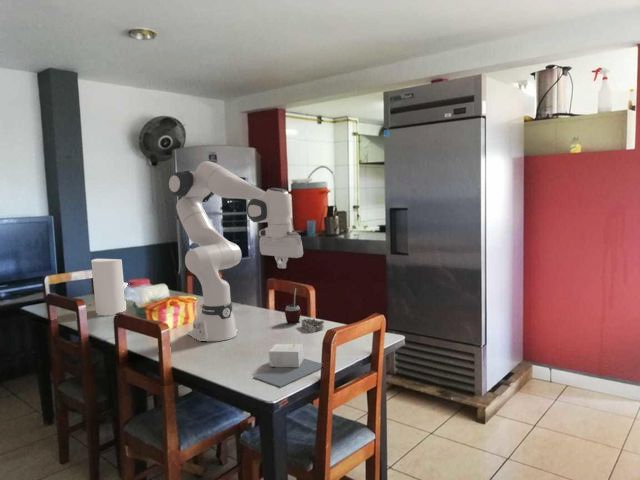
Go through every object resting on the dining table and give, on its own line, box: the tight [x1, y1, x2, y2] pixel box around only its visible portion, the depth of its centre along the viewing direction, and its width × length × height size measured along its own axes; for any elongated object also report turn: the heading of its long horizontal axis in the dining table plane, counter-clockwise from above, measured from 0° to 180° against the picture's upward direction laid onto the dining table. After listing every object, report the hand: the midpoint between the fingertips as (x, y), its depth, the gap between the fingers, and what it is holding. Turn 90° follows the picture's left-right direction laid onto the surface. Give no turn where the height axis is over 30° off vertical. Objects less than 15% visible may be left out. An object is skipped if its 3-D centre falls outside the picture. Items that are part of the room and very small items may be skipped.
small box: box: [268, 343, 305, 368], centre depth 170 cm, size 8×6×10 cm
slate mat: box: [252, 358, 322, 388], centre depth 164 cm, size 13×22×1 cm, turn 138°
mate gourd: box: [284, 288, 302, 326], centre depth 221 cm, size 8×8×15 cm
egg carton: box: [300, 318, 325, 333], centre depth 212 cm, size 11×8×4 cm
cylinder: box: [90, 258, 129, 314], centre depth 256 cm, size 17×17×28 cm
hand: (281, 268), depth 185 cm, fingers closed
